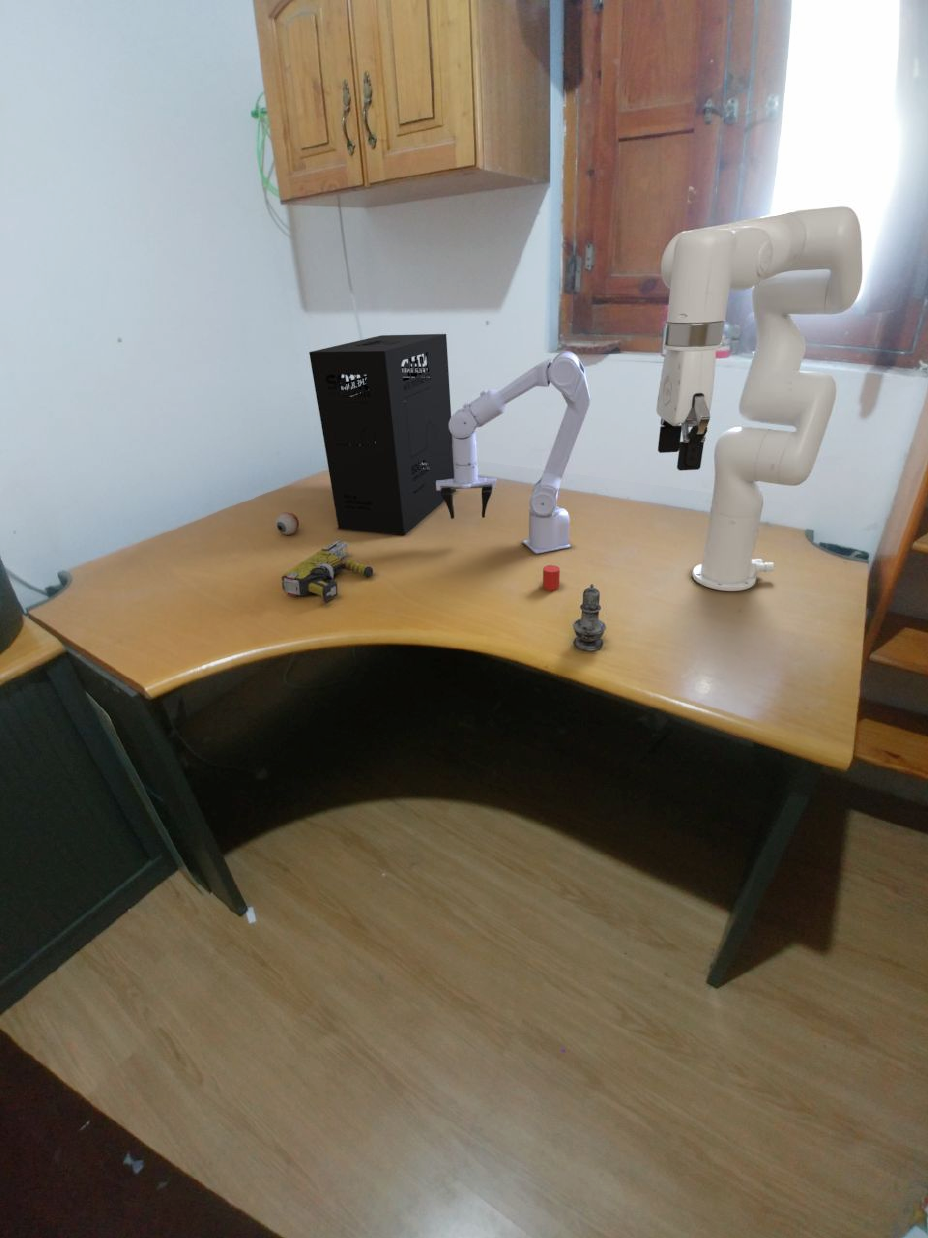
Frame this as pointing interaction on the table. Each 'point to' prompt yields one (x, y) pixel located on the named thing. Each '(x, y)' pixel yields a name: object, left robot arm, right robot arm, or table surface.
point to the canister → (551, 577)
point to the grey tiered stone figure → (589, 622)
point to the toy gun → (321, 572)
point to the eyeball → (287, 523)
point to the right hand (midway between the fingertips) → (677, 460)
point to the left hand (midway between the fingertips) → (468, 516)
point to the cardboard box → (385, 429)
